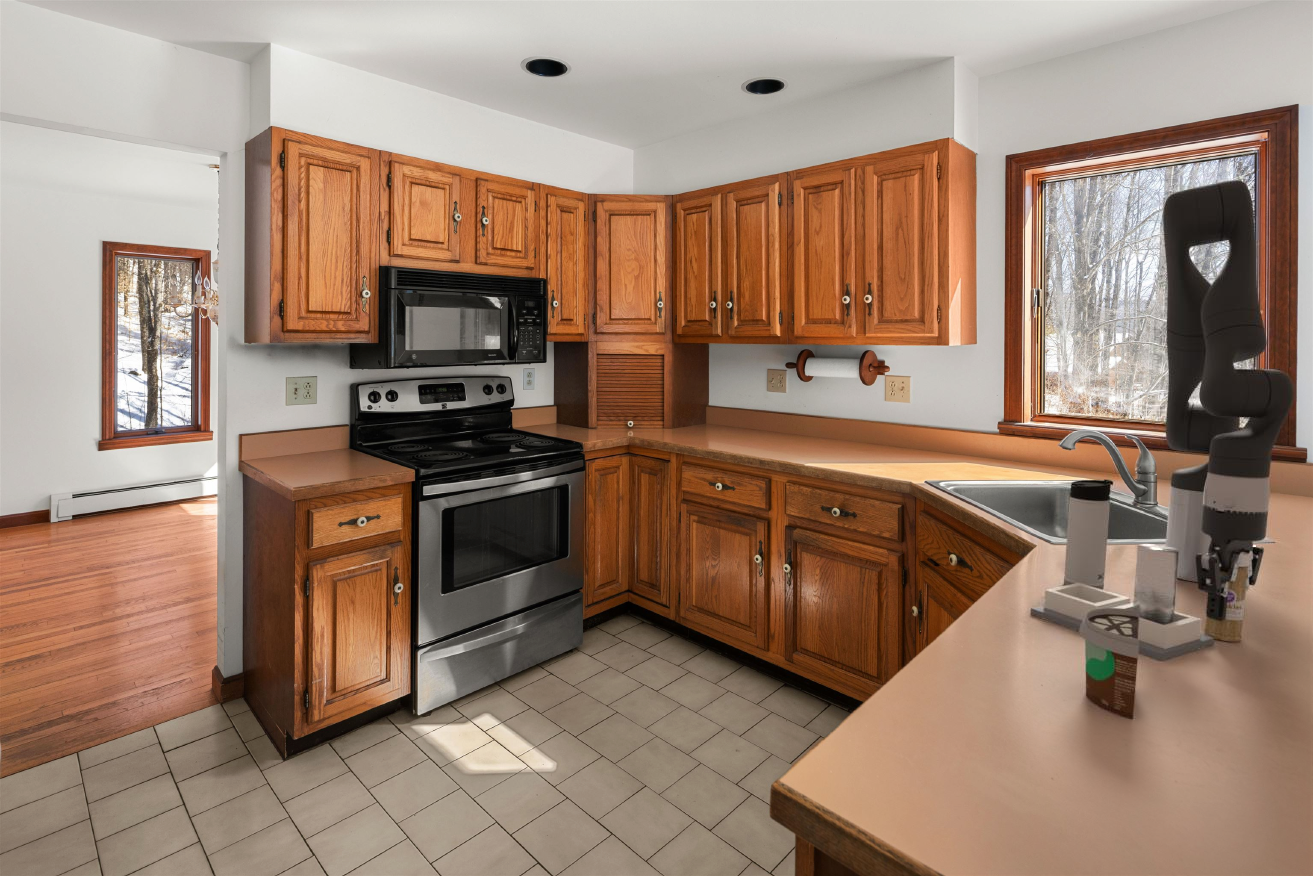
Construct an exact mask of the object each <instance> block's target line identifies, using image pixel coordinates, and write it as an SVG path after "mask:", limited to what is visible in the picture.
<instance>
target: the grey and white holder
mask: <svg viewBox="0 0 1313 876" xmlns="http://www.w3.org/2000/svg"><path fill="white" fill-rule="evenodd" d="M1101 608H1122V609H1132V610H1133V602H1131V597H1128V596H1124V595H1122V594H1117V593H1114V592H1111V591H1108V590H1104V589H1103V590H1101V589H1098V588H1095V587H1091V586H1088V585H1084V584H1081V583H1075V584H1071V585H1063V586H1057V587H1052V588H1048V589H1045V590H1044V604H1042V605H1039V606H1035V607H1030V615H1033V616H1035V617H1037V616H1038V617H1037V618H1041V619H1043V618H1044V619H1043V620H1046V619H1047V620H1046V621H1048V622H1051V621H1052V623H1054V622H1056V623H1055V624H1057V623H1058V625H1060V626H1062V625H1064V626H1063V627H1065V626H1066V627H1065V628H1068V627H1069V628H1068V629H1071V628H1072V629H1071V630H1074V629H1075V630H1074V631H1076V630H1077V632H1079V629H1080V626H1081V623H1082V620H1083V618H1084V617H1085V616H1086V614H1087V613H1088V612H1089V611H1091V610H1095V609H1101ZM1201 626H1202V618H1199V617H1195V616H1192V615H1188V614H1187V613H1182V612H1179V611H1175V610H1174V621H1173V623H1169V624H1166V625H1162V624H1159V623H1156V622H1152V621H1149V620H1146V619H1143V618H1140V617H1139V629H1138V639H1139V650H1138V654H1140V655H1144V656H1146V657H1149V658H1153V659H1155V660H1157V661H1161V662H1162V661H1166V660H1168V659H1171V658H1174V657H1178V656H1181V655H1184V654H1187V653H1191V652H1194V651H1197V650H1200V649H1199V648H1201V649H1203V648H1207V647H1210V646H1213V645H1214V644H1215V643H1214V642H1215V638H1213V637H1210V636H1208V635H1206V634H1204V633H1203V634H1202V633H1201ZM1209 645H1210V646H1209ZM1206 646H1207V647H1206Z"/></svg>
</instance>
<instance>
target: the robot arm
mask: <svg viewBox="0 0 1313 876" xmlns="http://www.w3.org/2000/svg"><path fill="white" fill-rule="evenodd" d="M1252 199H1253V198H1252V195H1251V192H1250V189H1249V187H1248V185H1247V184H1246V183H1245V182H1244V181H1243V180H1240V179H1231V180H1224V181H1219V182H1216V183H1212V184H1207V185H1200V186H1197V187H1192V188H1191V187H1190V188H1187V189H1182V190H1179V191H1178V190H1177V191H1174V192H1173V193H1170V194H1169V195H1168V196H1167V197H1166V198H1165V201H1164V203H1163V209H1162V227H1163V229H1162V230H1163V240H1164V252H1165V253H1164V254H1165V264H1166V265H1165V267H1166V276H1167V277H1166V278H1167V297H1166V298H1167V302H1166V306H1167V308H1166V349H1167V350H1166V351H1167V368H1168V384H1167V385H1168V388H1167V401H1166V417H1165V418H1166V419H1165V437H1166V438H1165V439H1166V442H1167V445H1168V446H1169V448H1170V449H1172V450H1175V451H1179V452H1190V453H1192V452H1193V453H1200V454H1201V453H1205V454H1209V455H1208V461H1207V462H1205V463H1203V464H1201V465H1197V466H1192V467H1187V468H1181V469H1177V470H1175V471H1173V472H1172V473H1171V477H1170V488H1169V489H1170V490H1169V499H1168V501H1169V502H1168V510H1167V511H1168V513H1167V523H1166V525H1167V527H1166V536H1165V546H1168V547H1172V548H1175V549H1178V550H1179V563H1178V575H1177V579H1180V580H1183V581H1188V582H1193V583H1197V588H1198V591H1202V592H1204V593H1207V597H1208V598H1206V599H1207V600H1206V608H1205V617H1206V616H1207V617H1208V618H1211V619H1214V620H1218V621H1222V620H1225V617H1226V607H1227V597H1226V596H1227V594H1228V590H1229V586H1230V583H1232V582H1234V581H1235V579H1236V575H1237V572H1238V568H1239V567H1238V564H1240V563H1241V559H1242V556H1243V553H1241V552H1245V553H1249V554H1250V565H1249V568H1248V569H1247V581H1246V593H1247V592H1249V590H1250V586H1255V585H1256V582H1257V579H1258V576H1259V571H1260V568H1261V563H1262V559H1263V556H1264V552H1265V549H1264V547H1262V546H1257V545H1254V543H1253V542H1260V541H1262V540H1264V539H1266V536H1267V527H1268V526H1267V525H1268V516H1269V505H1270V495H1271V488H1270V473H1271V463H1272V454H1273V453H1272V451H1273V448H1274V446H1275V444H1276V441H1277V439H1278V437H1279V434H1280V432H1281V429H1282V427H1283V425H1284V422H1285V420H1286V418H1287V416H1288V415H1289V412H1290V410H1291V408H1292V406H1293V404H1294V400H1295V386H1294V383H1293V381H1292V379H1291V378H1290V376H1289V375H1288V374H1287V373H1285V372H1284V371H1282V370H1280V369H1279V370H1278V369H1273V368H1272V369H1271V368H1260V369H1259V368H1256V369H1255V368H1253V369H1252V368H1244V369H1243V368H1238V369H1237V368H1235V365H1234V364H1235V363H1239V362H1245V361H1249V360H1251V359H1255V358H1256V357H1258V356H1260V355H1261V354H1263V353H1264V351H1265V350H1266V349H1267V342H1268V341H1267V336H1266V331H1265V326H1264V321H1263V316H1262V311H1261V307H1260V303H1259V294H1258V286H1257V285H1258V284H1257V249H1256V247H1257V246H1256V234H1255V232H1256V231H1255V215H1254V206H1253V200H1252ZM1226 241H1227V242H1228V244H1229V245H1228V247H1229V248H1228V253H1227V257H1226V260H1225V262H1224V264H1223V265H1222V268H1221V270H1220V271H1219V272H1218V274H1217V276H1216V277H1215V279H1214V281H1213V282H1212V283H1210V282H1209V281H1208V279H1206V277H1204V275H1202V273H1201V271H1200V270H1199V269H1198V267H1197V266H1196V265H1195V263H1194V262H1193V260H1192V257H1191V255H1190V249H1191V248H1193V247H1198V246H1203V245H1209V244H1214V243H1215V244H1216V243H1221V242H1226ZM1199 385H1200V386H1199ZM1198 386H1199V393H1198V397H1199V402H1200V403H1190V402H1189V400H1190V398H1191V396H1192V395H1193V393H1194V392H1195V390H1196V389H1197V388H1198ZM1241 418H1249V419H1248V420H1247V422H1246V423H1245V425H1244V426H1243V427H1242V428H1240V425H1241V423H1240V421H1241ZM1231 560H1232V561H1231ZM1220 571H1222V572H1226V573H1228V572H1229V573H1228V574H1227V575H1222V574H1220ZM1221 580H1222V586H1221Z"/></svg>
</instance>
